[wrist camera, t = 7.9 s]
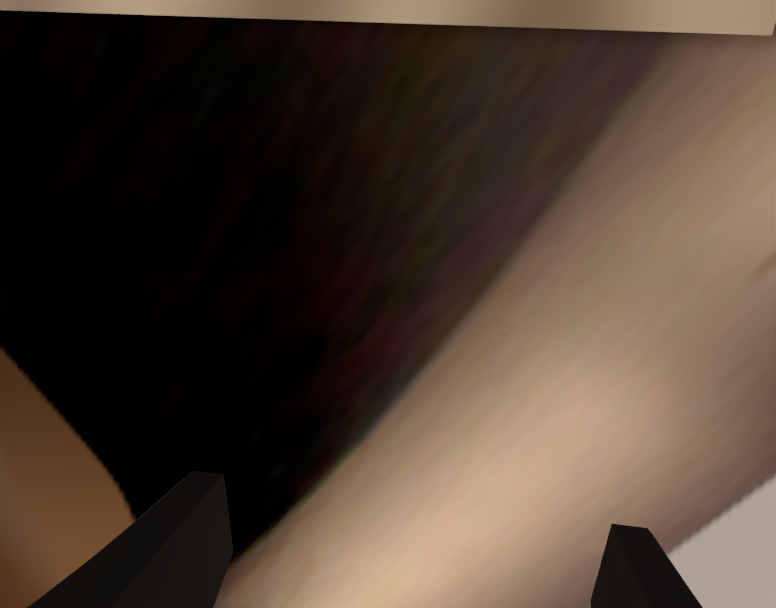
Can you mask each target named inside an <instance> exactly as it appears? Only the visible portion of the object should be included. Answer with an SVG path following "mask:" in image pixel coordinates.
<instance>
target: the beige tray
mask: <svg viewBox="0 0 776 608" xmlns="http://www.w3.org/2000/svg"><path fill="white" fill-rule="evenodd" d="M0 10H11V11H42V12H72V13H103V14H133V15H163V16H194V17H224V18H255V19H285V20H316V21H346V22H376V23H407V24H437V25H468V26H498V27H529V28H559V29H589V30H620V31H650V32H681V33H711V34H742V35H772V33H773V30H774V26H775V23H776V0H0Z"/></svg>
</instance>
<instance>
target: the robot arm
mask: <svg viewBox="0 0 776 608" xmlns="http://www.w3.org/2000/svg"><path fill="white" fill-rule="evenodd" d="M232 552H233V545H232V537H231V529H230V521H229V513H228V505H227V497H226V489H225V481H224V475H223V474H215V473H207V472H199V471H193V472H191V473H190V474H189V475H188V476H186V477H185V478H184V479H183V480H182V481H181V482H179V483H178V484H177V485H176V486H175V487H174V488H173V489H171V490H170V491H169V492H168V493H167V494H166V495H165V496H163V497H162V498H161V499H160V500H159V501H158V502H157V503H156V504H154V505H153V506H152V507H151V508H150V509H149V510H148V511H146V512H145V513H144V514H143V515H142V516H141V517H139V518H138V519H137V520H136V521H135V522H134V523H133V524H131V525H130V526H129V527H128V528H127V529H125V530H124V531H123V532H122V533H121V534H120V535H118V536H117V537H116V538H115V539H114V540H112V541H111V542H110V543H109V544H108V545H107V546H106V547H104V548H103V549H102V550H100V551H99V552H98V553H97V554H96V555H95V556H93V557H92V558H91V559H90V560H88V561H87V562H86V563H85V564H83V565H82V566H81V567H79V568H78V569H77V570H76V571H75V572H73V573H72V574H70V575H69V576H68V577H67V578H65V579H64V580H63V581H61V582H60V583H59V584H57V585H56V586H55V587H54V588H52V589H51V590H50V591H48V592H47V593H46V594H45V595H44V596H42V597H41V598H39V599H38V600H36V601H35V602H34V603H32V604H31V605H30V606H28V607H27V608H213V606H214V604H215V601H216V598H217V596H218V593H219V590H220V587H221V585H222V582H223V579H224V576H225V573H226V570H227V567H228V564H229V561H230V558H231V555H232ZM591 608H702V606H701V605H700V603H699V602H698V600H697V599H696V597H695V596H694V595H693V593H692V592H691V590H690V589H689V587H688V586H687V585H686V583H685V582H684V580H683V579H682V577H681V576H680V574H679V573H678V571H677V570H676V569H675V567H674V566H673V564H672V563H671V561H670V560H669V558H668V557H667V555H666V554H665V552H664V551H663V549H662V548H661V546H660V545H659V543H658V542H657V540H656V539H655V537H654V536H653V534H652V533H651V532H650V531H649V529H648V528H641V527H633V526H625V525H617V524H612V525H611V529H610V532H609V536H608V540H607V543H606V547H605V551H604V554H603V558H602V561H601V565H600V569H599V572H598V576H597V580H596V583H595V587H594V590H593V594H592V598H591Z"/></svg>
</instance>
